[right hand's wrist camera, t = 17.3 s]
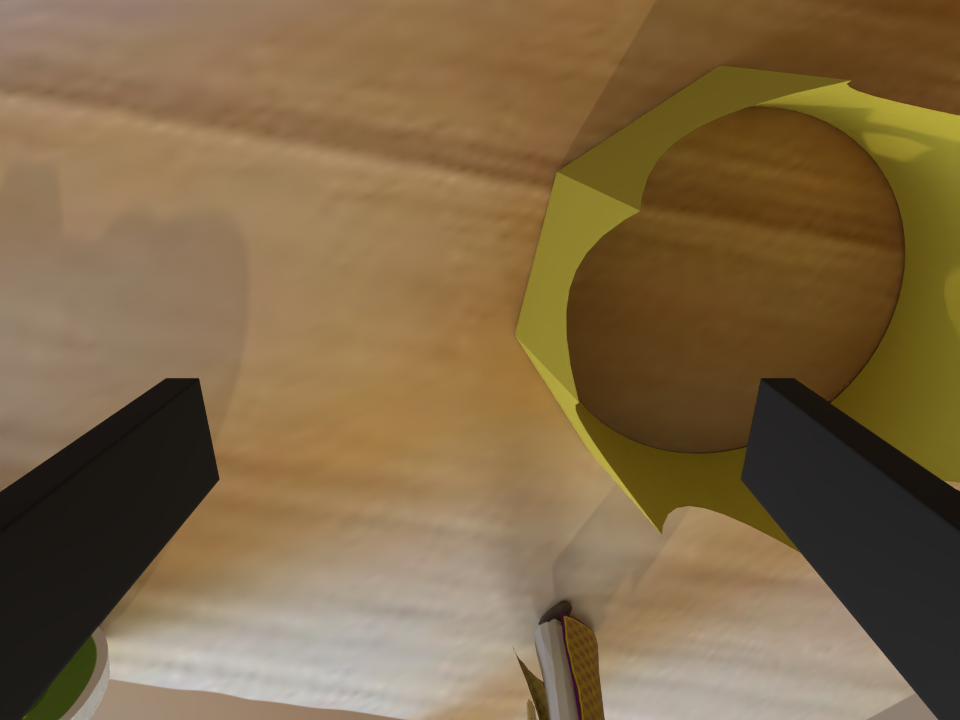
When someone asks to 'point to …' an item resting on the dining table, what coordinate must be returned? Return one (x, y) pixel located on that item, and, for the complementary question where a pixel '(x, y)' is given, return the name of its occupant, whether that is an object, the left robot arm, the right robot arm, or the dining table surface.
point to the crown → (899, 357)
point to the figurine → (565, 669)
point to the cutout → (76, 684)
